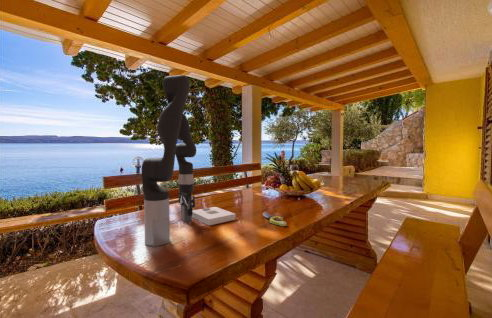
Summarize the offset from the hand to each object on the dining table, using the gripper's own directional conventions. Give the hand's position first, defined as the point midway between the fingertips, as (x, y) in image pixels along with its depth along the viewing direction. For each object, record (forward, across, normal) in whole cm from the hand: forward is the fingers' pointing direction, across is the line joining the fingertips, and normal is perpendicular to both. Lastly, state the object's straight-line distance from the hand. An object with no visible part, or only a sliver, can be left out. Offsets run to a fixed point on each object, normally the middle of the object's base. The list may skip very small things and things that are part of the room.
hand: (186, 213), depth 122 cm
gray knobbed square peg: (+4, 0, 0) cm, 4 cm away
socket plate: (+4, +4, +13) cm, 14 cm away
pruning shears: (+4, +27, +36) cm, 45 cm away
